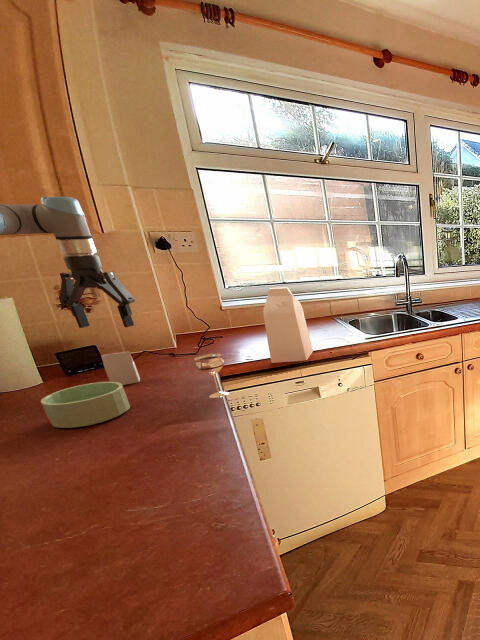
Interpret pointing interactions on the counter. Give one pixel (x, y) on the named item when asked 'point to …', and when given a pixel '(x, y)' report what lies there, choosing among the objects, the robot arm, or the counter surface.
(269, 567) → the counter surface
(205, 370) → the wineglass
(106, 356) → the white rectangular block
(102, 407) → the bowl
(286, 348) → the milk
